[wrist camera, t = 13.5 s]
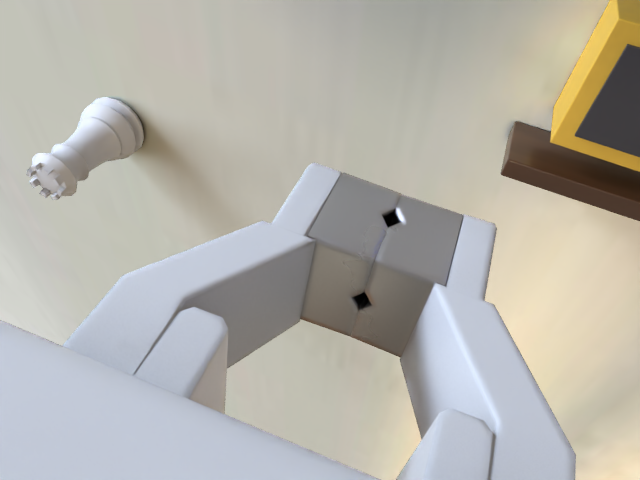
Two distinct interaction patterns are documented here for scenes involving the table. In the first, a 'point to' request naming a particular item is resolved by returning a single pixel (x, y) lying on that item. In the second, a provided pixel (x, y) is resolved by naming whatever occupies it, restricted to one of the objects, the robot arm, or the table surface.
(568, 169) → the case
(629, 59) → the yellow box grey face
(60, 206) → the table surface
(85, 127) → the rook chess piece
